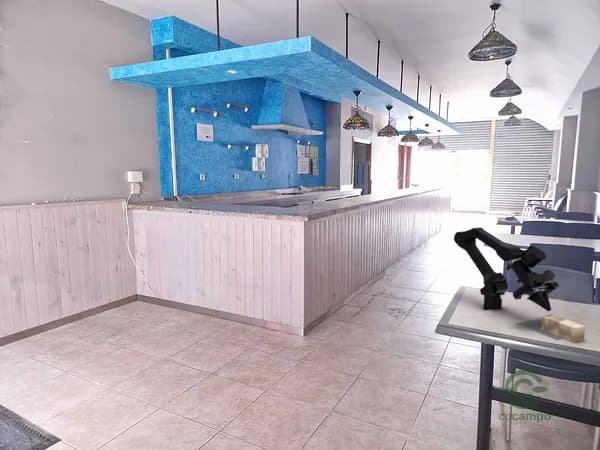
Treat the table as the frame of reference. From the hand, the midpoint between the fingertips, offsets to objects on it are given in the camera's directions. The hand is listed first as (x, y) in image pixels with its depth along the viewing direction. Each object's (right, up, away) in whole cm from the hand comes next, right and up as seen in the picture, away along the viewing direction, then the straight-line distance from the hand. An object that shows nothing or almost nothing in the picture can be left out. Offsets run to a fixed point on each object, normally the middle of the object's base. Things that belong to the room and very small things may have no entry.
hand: (549, 310), depth 144 cm
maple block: (0, -5, +1) cm, 5 cm away
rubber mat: (0, -8, +1) cm, 8 cm away
